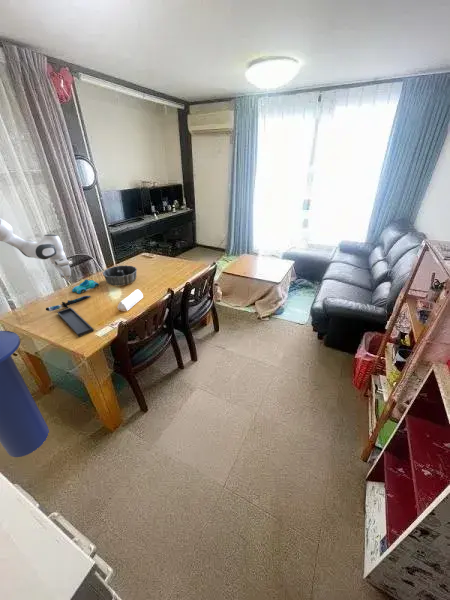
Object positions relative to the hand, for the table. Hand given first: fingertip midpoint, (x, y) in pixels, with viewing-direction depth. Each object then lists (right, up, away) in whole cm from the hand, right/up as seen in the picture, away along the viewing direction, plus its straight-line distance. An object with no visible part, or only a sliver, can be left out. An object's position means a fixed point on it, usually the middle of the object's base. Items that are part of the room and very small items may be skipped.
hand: (65, 279), depth 170 cm
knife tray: (+13, -28, -11) cm, 33 cm away
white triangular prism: (+41, -17, +10) cm, 45 cm away
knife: (0, -18, +7) cm, 19 cm away
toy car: (-3, -5, +31) cm, 32 cm away
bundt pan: (+21, +1, +42) cm, 47 cm away
